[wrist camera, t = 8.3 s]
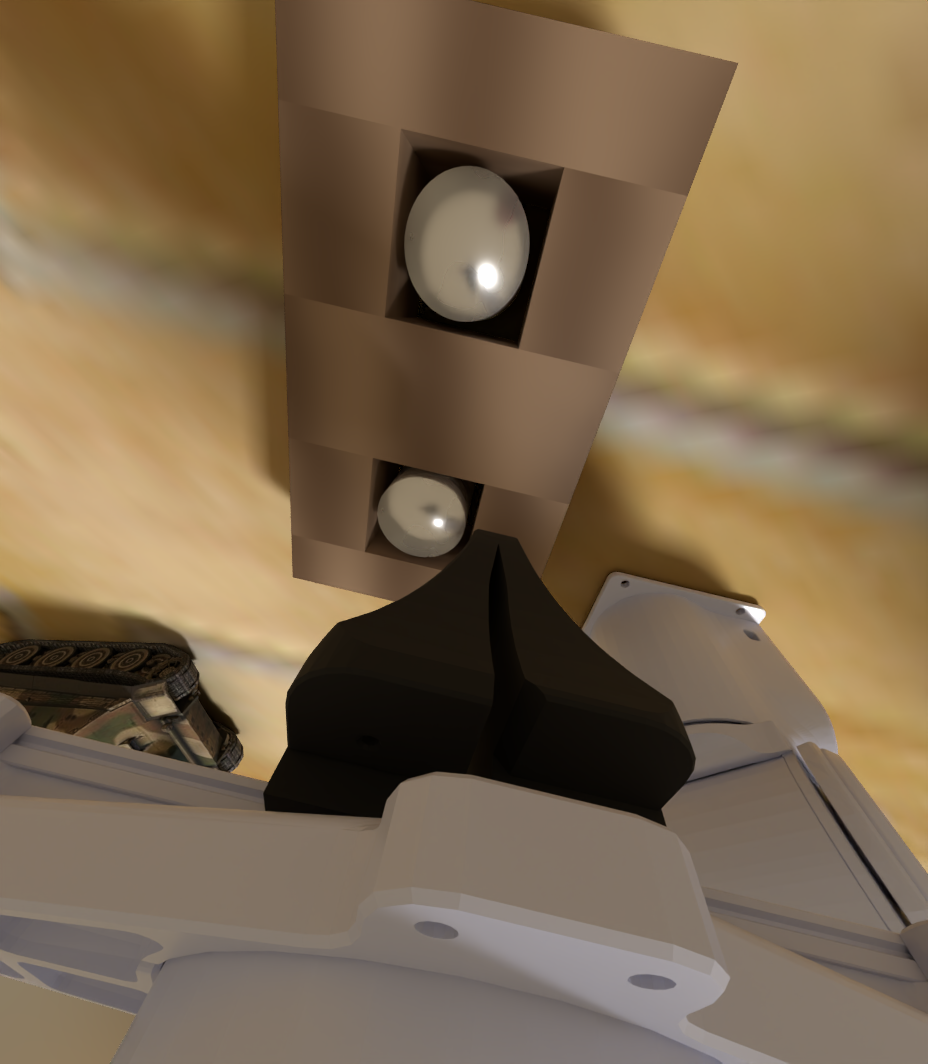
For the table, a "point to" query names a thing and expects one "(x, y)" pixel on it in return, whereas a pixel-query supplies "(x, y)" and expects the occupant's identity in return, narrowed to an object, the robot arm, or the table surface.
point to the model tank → (118, 697)
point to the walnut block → (388, 293)
